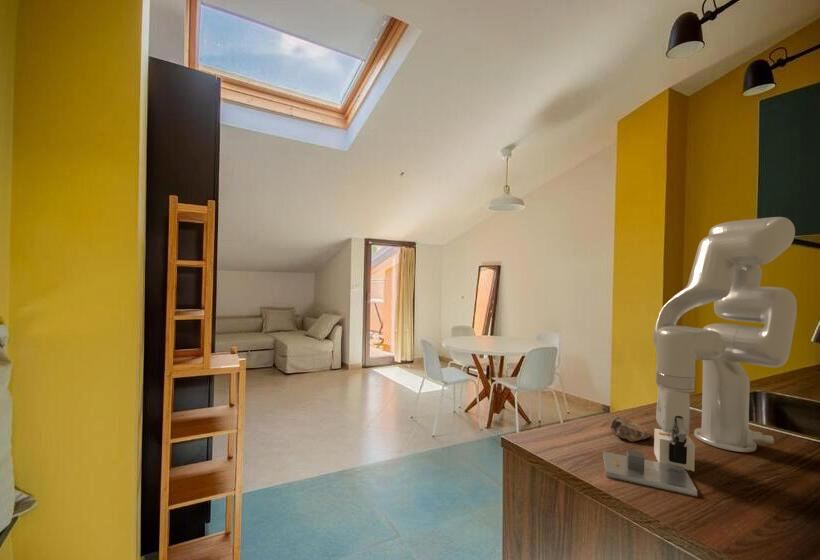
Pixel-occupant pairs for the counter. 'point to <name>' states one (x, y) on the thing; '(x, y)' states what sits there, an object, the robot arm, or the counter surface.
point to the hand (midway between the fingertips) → (672, 453)
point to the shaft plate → (648, 472)
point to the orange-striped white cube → (662, 449)
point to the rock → (629, 430)
